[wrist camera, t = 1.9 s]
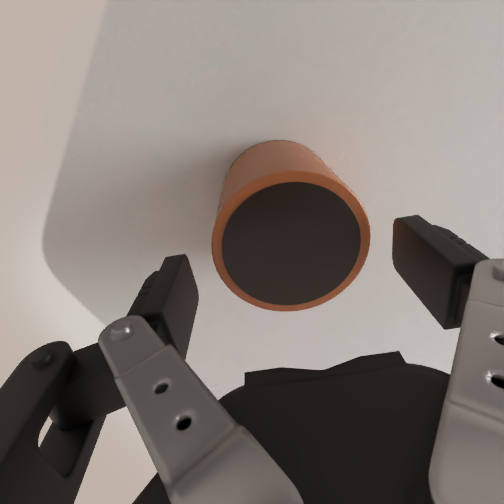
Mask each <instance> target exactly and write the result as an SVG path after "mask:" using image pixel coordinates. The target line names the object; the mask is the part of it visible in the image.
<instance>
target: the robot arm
mask: <svg viewBox="0 0 504 504" xmlns="http://www.w3.org/2000/svg"><path fill="white" fill-rule="evenodd" d="M392 259H393V264H394V267H395V269H396V271H397V272H398V273H399V275H400V276H401V277H402V278H403V280H404V281H405V282H406V283H407V285H408V286H409V287H410V288H411V289H412V291H413V292H414V293H415V294H416V296H417V297H418V298H419V299H420V300H421V302H422V303H423V304H424V305H425V307H426V308H427V309H428V310H429V311H430V313H431V314H432V315H433V316H434V318H435V319H436V320H437V321H438V322H439V324H440V325H441V326H442V327H443V329H444V330H445V329H452V328H459V327H461V329H460V333H459V338H458V343H457V347H456V352H455V356H454V361H453V365H452V370H451V374H450V375H449V374H447V373H445V372H442V371H439V370H436V369H434V368H430V367H426V366H422V365H416V364H409V363H406V362H405V361H404V359H403V357H402V355H401V354H400V352H399V351H396V352H389V353H382V354H375V355H367V356H360V357H358V358H355V359H352V360H350V361H347V362H344V363H342V364H339V365H336V366H334V367H331V368H328V369H325V370H309V369H295V368H274V369H267V370H260V371H253V372H246V373H245V385H244V386H241V387H239V388H237V389H235V390H233V391H231V392H229V393H228V394H226V395H225V396H223V397H222V398H220V399H219V400H217V399H216V398H215V396H214V395H213V394H212V393H211V392H210V390H209V389H208V388H207V387H206V386H205V384H204V383H203V382H202V381H201V380H200V378H199V377H198V376H197V375H196V374H195V372H194V371H193V370H192V369H191V368H190V366H189V365H188V364H187V363H186V362H185V359H186V354H187V350H188V345H189V341H190V337H191V332H192V328H193V323H194V319H195V315H196V310H197V306H198V301H199V295H198V289H197V285H196V282H195V279H194V276H193V273H192V269H191V266H190V263H189V260H188V258H187V256H186V255H185V254H181V255H176V256H170V257H166V258H165V260H164V262H163V264H162V266H161V268H160V270H159V271H155V272H153V273H152V274H151V275H150V276H149V277H148V278H147V279H146V280H145V282H144V284H143V286H142V289H140V291H139V293H138V296H137V297H136V299H135V301H134V303H133V304H132V306H131V308H130V310H129V312H128V314H127V316H126V317H123V318H120V319H118V320H116V321H114V322H112V323H111V324H110V325H108V326H107V327H106V328H105V329H104V330H103V331H102V332H101V334H100V335H99V338H98V343H95V344H92V345H90V346H87V347H85V348H82V349H79V350H76V351H74V352H73V351H72V349H71V347H70V346H69V344H68V343H66V342H64V341H56V342H52V343H48V344H46V345H44V346H41V347H40V348H38V349H36V350H34V351H33V352H31V353H30V354H29V355H28V356H26V357H25V358H24V359H23V360H22V361H21V362H20V363H19V365H18V366H17V367H16V369H15V370H14V371H13V373H12V374H11V375H10V377H9V378H8V379H7V380H6V382H5V383H4V384H3V386H2V387H1V388H0V504H74V501H75V499H76V496H77V493H78V491H79V488H80V485H81V483H82V480H83V477H84V474H85V472H86V469H87V466H88V464H89V461H90V458H91V456H92V453H93V450H94V448H95V445H96V442H97V439H98V437H99V434H100V431H101V429H102V426H103V423H104V421H105V418H106V415H107V414H109V413H111V412H114V411H116V410H118V409H121V408H123V407H125V406H127V408H128V410H129V412H130V414H131V416H132V418H133V420H134V423H135V425H136V427H137V429H138V431H139V433H140V435H141V437H142V439H143V441H144V443H145V446H146V448H147V450H148V452H149V454H150V457H151V459H152V461H153V463H154V465H155V467H156V469H157V471H158V472H157V473H156V475H155V476H154V478H152V480H151V481H150V482H149V483H148V485H147V486H146V487H145V488H144V490H143V491H142V492H141V493H140V495H139V496H138V497H137V499H136V500H135V501H134V502H133V503H132V504H504V259H490V258H488V257H487V256H485V255H484V254H483V253H481V252H480V251H478V250H477V249H475V248H474V247H473V246H471V245H470V244H467V243H466V241H464V240H463V239H461V238H458V236H457V235H456V234H454V233H453V232H451V231H450V230H448V229H445V228H442V227H439V226H436V225H431V224H430V223H428V222H427V221H426V220H424V219H423V218H422V217H420V216H419V215H413V216H407V217H402V218H396V219H395V220H394V224H393V247H392ZM48 416H49V417H50V418H51V420H52V421H53V422H52V424H51V426H50V428H49V430H48V432H47V434H46V435H45V437H44V439H43V441H42V443H41V445H40V447H38V438H39V434H40V431H41V429H42V427H43V425H44V423H45V421H46V420H47V418H48Z"/></svg>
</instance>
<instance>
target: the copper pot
mask: <svg viewBox="0 0 504 504" xmlns="http://www.w3.org/2000/svg"><path fill="white" fill-rule="evenodd" d="M211 246H212V256H213V261H214V264H215V267H216V270H217V272H218V274H219V275H220V277H221V279H222V280H223V282H224V283H225V284H226V286H227V287H228V288H229V289H230V290H231V291H232V292H233V293H234V294H236V295H237V296H238V297H239V298H241V299H243V300H244V301H246V302H248V303H250V304H252V305H254V306H257V307H260V308H263V309H268V310H273V311H299V310H304V309H309V308H312V307H315V306H318V305H320V304H323V303H325V302H327V301H329V300H330V299H332V298H334V297H335V296H337V295H338V294H340V293H341V292H342V291H343V290H345V289H346V288H347V287H348V286H349V285H350V284H351V283H352V282H353V280H354V279H355V278H356V276H357V275H358V274H359V272H360V271H361V269H362V267H363V265H364V263H365V260H366V258H367V255H368V251H369V246H370V225H369V221H368V217H367V214H366V212H365V210H364V207H363V206H362V204H361V202H360V201H359V199H358V198H357V197H356V196H355V194H354V193H353V192H352V191H351V190H350V189H349V188H348V187H347V186H346V185H345V184H344V183H343V182H342V181H341V180H340V179H339V178H338V177H337V176H336V175H335V174H334V173H333V172H332V171H331V170H330V169H329V168H328V167H327V165H326V164H325V163H324V162H323V161H322V160H321V159H320V158H319V157H318V156H317V155H316V154H314V153H313V152H312V151H311V150H309V149H308V148H306V147H305V146H302V145H300V144H298V143H295V142H291V141H285V140H274V141H267V142H263V143H260V144H258V145H255V146H253V147H251V148H250V149H248V150H246V151H245V152H244V153H243V154H241V155H240V156H239V157H238V158H237V159H236V160H235V162H234V163H233V164H232V166H231V167H230V169H229V171H228V173H227V175H226V178H225V181H224V185H223V190H222V194H221V198H220V203H219V207H218V212H217V216H216V220H215V225H214V229H213V234H212V243H211Z"/></svg>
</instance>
